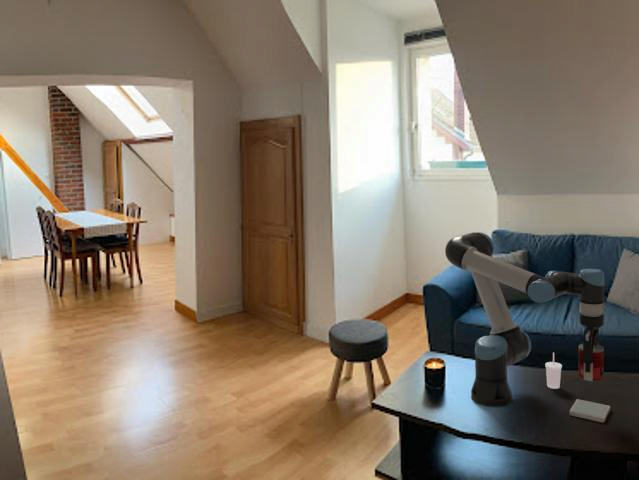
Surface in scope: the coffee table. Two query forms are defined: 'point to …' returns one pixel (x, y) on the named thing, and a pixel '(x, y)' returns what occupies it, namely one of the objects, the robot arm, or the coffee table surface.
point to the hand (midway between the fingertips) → (590, 375)
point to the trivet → (590, 410)
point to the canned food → (596, 360)
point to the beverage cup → (553, 374)
